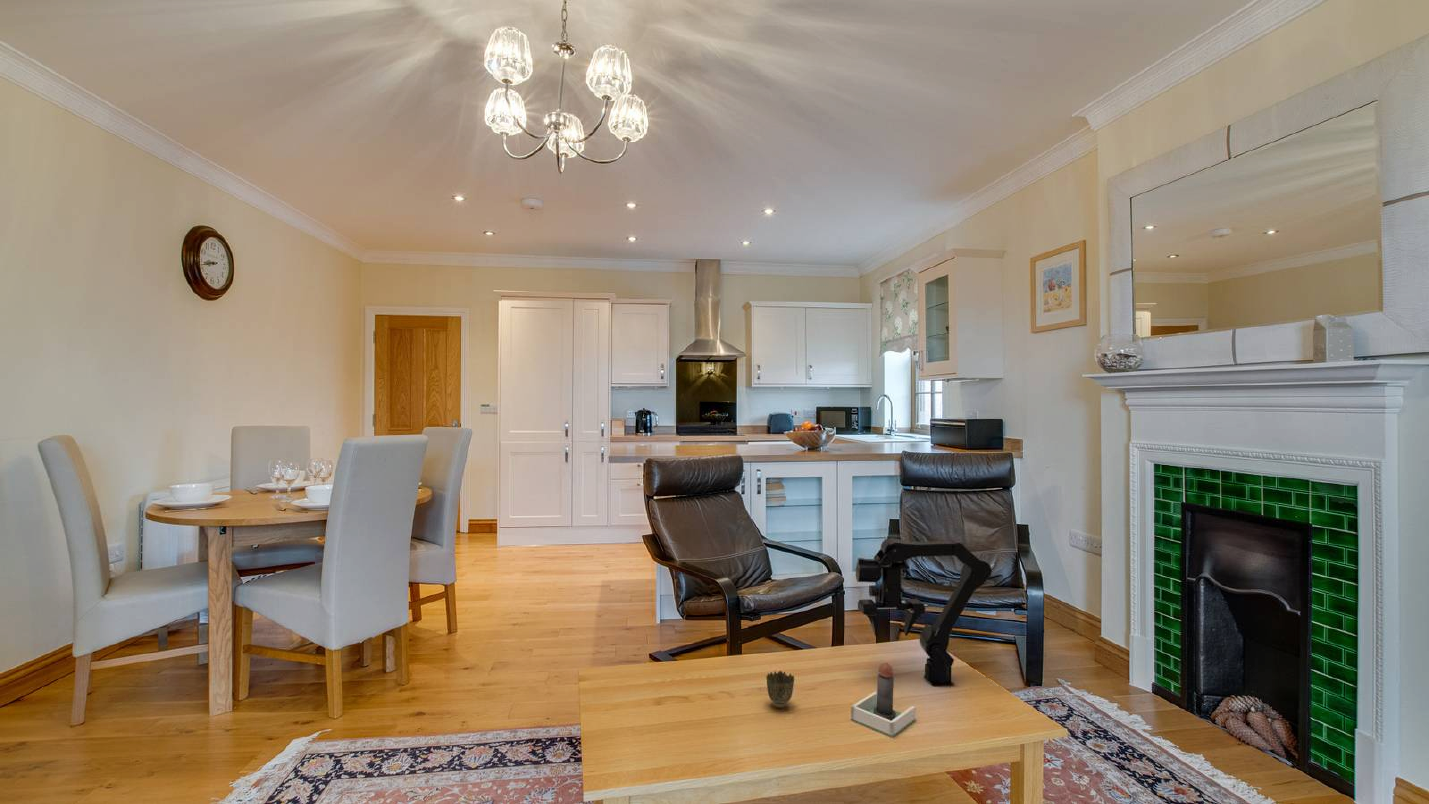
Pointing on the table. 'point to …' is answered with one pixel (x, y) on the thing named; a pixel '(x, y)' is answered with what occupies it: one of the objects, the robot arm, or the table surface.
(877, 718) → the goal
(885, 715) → the player figure
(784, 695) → the cup
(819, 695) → the table surface
